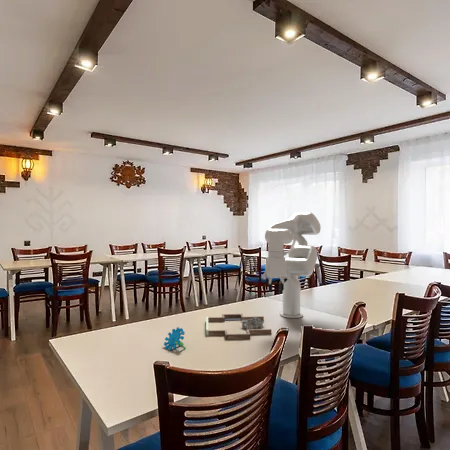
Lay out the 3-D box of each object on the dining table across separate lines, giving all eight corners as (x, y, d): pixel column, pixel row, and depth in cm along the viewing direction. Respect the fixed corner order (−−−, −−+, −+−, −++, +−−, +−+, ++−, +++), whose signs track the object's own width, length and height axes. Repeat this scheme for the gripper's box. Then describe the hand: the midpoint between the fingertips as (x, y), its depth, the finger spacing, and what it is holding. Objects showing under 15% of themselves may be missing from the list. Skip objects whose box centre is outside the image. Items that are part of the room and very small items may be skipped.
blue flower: (159, 341, 141) (175, 322, 144) (168, 349, 144) (183, 330, 147) (170, 353, 132) (187, 333, 135) (179, 361, 135) (196, 341, 138)
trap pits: (224, 318, 181) (224, 317, 181) (240, 318, 181) (240, 317, 181) (227, 338, 150) (227, 337, 150) (247, 337, 150) (247, 337, 150)
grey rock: (249, 331, 160) (248, 323, 160) (239, 327, 166) (239, 319, 166) (265, 327, 166) (265, 318, 166) (255, 323, 172) (255, 315, 172)
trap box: (208, 318, 181) (208, 314, 181) (261, 317, 183) (261, 313, 183) (208, 339, 148) (208, 335, 148) (273, 338, 150) (273, 333, 150)
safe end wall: (206, 321, 176) (206, 316, 176) (208, 321, 176) (208, 316, 176) (206, 335, 154) (206, 330, 154) (208, 335, 154) (208, 330, 154)
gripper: (291, 253, 170) (291, 289, 171) (257, 254, 169) (257, 290, 170) (294, 255, 163) (295, 293, 163) (260, 255, 162) (260, 293, 162)
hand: (276, 291), depth 166 cm, fingers open, 4 cm apart
